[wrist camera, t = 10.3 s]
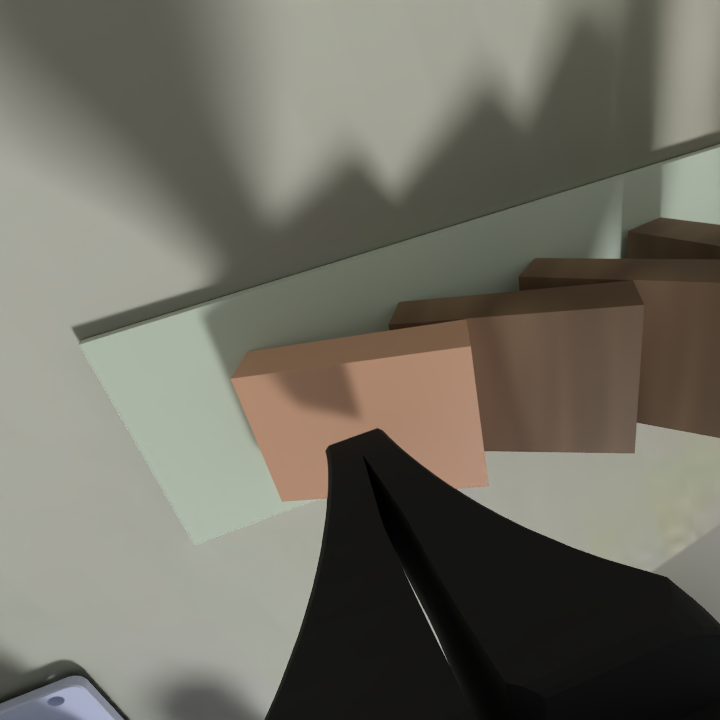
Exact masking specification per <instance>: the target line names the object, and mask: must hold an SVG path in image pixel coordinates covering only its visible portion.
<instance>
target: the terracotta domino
mask: <svg viewBox="0 0 720 720" xmlns="http://www.w3.org/2000/svg"><path fill="white" fill-rule="evenodd" d="M231 381H232V384H233V386H234V388H235V391H236V393H237V396H238V398H239V400H240V403H241V405H242V408H243V410H244V412H245V415H246V417H247V420H248V422H249V424H250V427H251V429H252V431H253V434H254V436H255V439H256V441H257V443H258V446H259V448H260V451H261V453H262V455H263V458H264V460H265V463H266V465H267V467H268V470H269V472H270V474H271V477H272V479H273V482H274V484H275V486H276V489H277V491H278V494H279V496H280V498H281V501H282V502H286V501H299V500H312V499H325V498H327V496H328V463H327V456H326V452H325V451H326V449H327V447H328V446H329V445H332V444H334V443H337V442H340V441H343V440H345V439H348V438H351V437H354V436H357V435H359V434H362V433H365V432H368V431H371V430H373V429H376V428H379V429H381V430H383V431H384V432H385V433H386V434H387V435H388V436H389V437H390V438H391V439H392V440H393V441H394V442H395V443H396V444H397V445H398V446H399V447H401V448H402V449H403V450H404V451H405V452H406V453H408V454H409V455H410V456H411V457H412V458H414V459H415V460H416V461H417V462H419V463H420V464H421V465H423V466H424V467H425V468H427V469H428V470H429V471H431V472H432V473H433V474H435V475H436V476H437V477H439V478H440V479H442V480H443V481H445V482H446V483H447V484H449V485H450V486H452V487H453V488H455V489H457V488H470V487H483V486H489V485H488V477H487V469H486V461H485V453H484V446H483V438H482V430H481V422H480V414H479V407H478V399H477V391H476V383H475V375H474V368H473V360H472V352H471V345H470V338H469V332H468V326H467V320H466V319H464V320H457V321H451V322H444V323H437V324H430V325H423V326H417V327H410V328H403V329H396V330H390V331H383V332H376V333H369V334H363V335H356V336H349V337H342V338H336V339H329V340H322V341H315V342H308V343H302V344H295V345H288V346H281V347H275V348H268V349H261V350H254V351H248V352H247V353H246V355H245V357H244V358H243V360H242V361H241V363H240V364H239V366H238V368H237V369H236V371H235V372H234V374H233V376H232V377H231Z"/></svg>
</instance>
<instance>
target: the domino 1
mask: <svg viewBox="0 0 720 720" xmlns="http://www.w3.org/2000/svg"><path fill="white" fill-rule="evenodd" d="M643 318H644V303H643V301H642V299H641V297H640V294H639V292H638V290H637V288H636V286H635V284H634V282H633V280H631V281H620V282H609V283H599V284H588V285H577V286H566V287H556V288H545V289H534V290H523V291H513V292H502V293H491V294H480V295H470V296H459V297H448V298H437V299H427V300H416V301H405V302H399V303H398V305H397V308H396V310H395V312H394V314H393V316H392V318H391V320H390V322H389V324H388V325H389V330H396V329H403V328H410V327H417V326H423V325H430V324H437V323H444V322H451V321H457V320H464V319H466V320H467V326H468V332H469V338H470V345H471V352H472V360H473V368H474V375H475V383H476V391H477V399H478V407H479V414H480V422H481V430H482V438H483V446H484V451H518V452H584V453H635V438H636V423H637V408H638V393H639V378H640V363H641V348H642V333H643Z"/></svg>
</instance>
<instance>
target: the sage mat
mask: <svg viewBox="0 0 720 720" xmlns="http://www.w3.org/2000/svg"><path fill="white" fill-rule="evenodd" d="M660 217H662V218H670V219H678V220H686V221H694V222H702V223H710V224H718V225H720V144H718V145H715V146H711V147H708V148H705V149H702V150H698V151H695V152H692V153H689V154H685V155H682V156H679V157H676V158H672V159H669V160H666V161H663V162H659V163H656V164H653V165H650V166H646V167H643V168H640V169H637V170H633V171H630V172H627V173H624V174H620V175H617V176H614V177H611V178H607V179H604V180H601V181H598V182H594V183H591V184H588V185H585V186H581V187H578V188H575V189H572V190H568V191H565V192H562V193H559V194H555V195H552V196H549V197H546V198H542V199H539V200H536V201H533V202H529V203H526V204H523V205H520V206H516V207H513V208H510V209H506V210H503V211H500V212H497V213H493V214H490V215H487V216H484V217H480V218H477V219H474V220H471V221H467V222H464V223H461V224H458V225H454V226H451V227H448V228H445V229H441V230H438V231H435V232H432V233H428V234H425V235H422V236H419V237H415V238H412V239H409V240H406V241H402V242H399V243H396V244H393V245H389V246H386V247H383V248H380V249H376V250H373V251H370V252H367V253H363V254H360V255H357V256H354V257H350V258H347V259H344V260H341V261H337V262H334V263H331V264H328V265H324V266H321V267H318V268H315V269H311V270H308V271H305V272H302V273H298V274H295V275H292V276H289V277H285V278H282V279H279V280H276V281H272V282H269V283H266V284H263V285H259V286H256V287H253V288H250V289H246V290H243V291H240V292H237V293H233V294H230V295H227V296H224V297H220V298H217V299H214V300H211V301H207V302H204V303H201V304H197V305H194V306H191V307H188V308H184V309H181V310H178V311H175V312H171V313H168V314H165V315H162V316H158V317H155V318H152V319H149V320H145V321H142V322H139V323H136V324H132V325H129V326H126V327H123V328H119V329H116V330H113V331H110V332H106V333H103V334H100V335H97V336H93V337H90V338H87V339H84V340H81V342H80V343H79V347H80V348H81V350H82V352H83V353H84V355H85V357H86V359H87V360H88V362H89V364H90V366H91V367H92V369H93V371H94V373H95V374H96V376H97V378H98V379H99V381H100V383H101V385H102V386H103V388H104V390H105V392H106V393H107V395H108V397H109V399H110V400H111V402H112V404H113V405H114V407H115V409H116V411H117V412H118V414H119V416H120V418H121V419H122V421H123V423H124V425H125V426H126V428H127V430H128V431H129V433H130V435H131V437H132V438H133V440H134V442H135V444H136V445H137V447H138V449H139V451H140V452H141V454H142V456H143V457H144V459H145V461H146V463H147V464H148V466H149V468H150V470H151V471H152V473H153V475H154V477H155V478H156V480H157V482H158V483H159V485H160V487H161V489H162V490H163V492H164V494H165V496H166V497H167V499H168V501H169V503H170V504H171V506H172V508H173V509H174V511H175V513H176V515H177V516H178V518H179V520H180V522H181V523H182V525H183V527H184V529H185V530H186V532H187V534H188V535H189V537H190V539H191V541H192V542H193V544H194V545H197V544H200V543H202V542H205V541H208V540H210V539H213V538H216V537H218V536H221V535H224V534H226V533H229V532H232V531H235V530H237V529H240V528H243V527H245V526H248V525H251V524H253V523H256V522H259V521H261V520H264V519H267V518H270V517H272V516H275V515H278V514H280V513H283V512H286V511H288V510H291V509H294V508H296V507H299V506H302V505H305V504H307V503H310V502H313V501H315V500H318V499H312V500H299V501H286V502H282V501H281V498H280V496H279V494H278V491H277V489H276V486H275V484H274V482H273V479H272V477H271V474H270V472H269V470H268V467H267V465H266V463H265V460H264V458H263V455H262V453H261V451H260V448H259V446H258V443H257V441H256V439H255V436H254V434H253V431H252V429H251V427H250V424H249V422H248V420H247V417H246V415H245V412H244V410H243V408H242V405H241V403H240V400H239V398H238V396H237V393H236V391H235V388H234V386H233V384H232V381H231V377H232V376H233V374H234V372H235V371H236V369H237V368H238V366H239V364H240V363H241V361H242V360H243V358H244V357H245V355H246V353H247V352H248V351H254V350H261V349H268V348H275V347H281V346H288V345H295V344H302V343H308V342H315V341H322V340H329V339H336V338H342V337H349V336H356V335H363V334H369V333H376V332H383V331H390V330H389V325H388V324H389V322H390V320H391V318H392V316H393V314H394V312H395V310H396V308H397V305H398V303H399V302H405V301H416V300H427V299H437V298H448V297H459V296H470V295H480V294H491V293H502V292H513V291H519V277H518V276H519V275H520V274H521V273H522V272H523V271H524V270H525V269H526V268H527V267H528V265H529V264H530V263H531V262H532V261H533V260H534V259H535V258H596V259H627V240H628V231H630V230H632V229H634V228H637V227H639V226H641V225H644V224H646V223H648V222H651V221H653V220H655V219H658V218H660Z"/></svg>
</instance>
